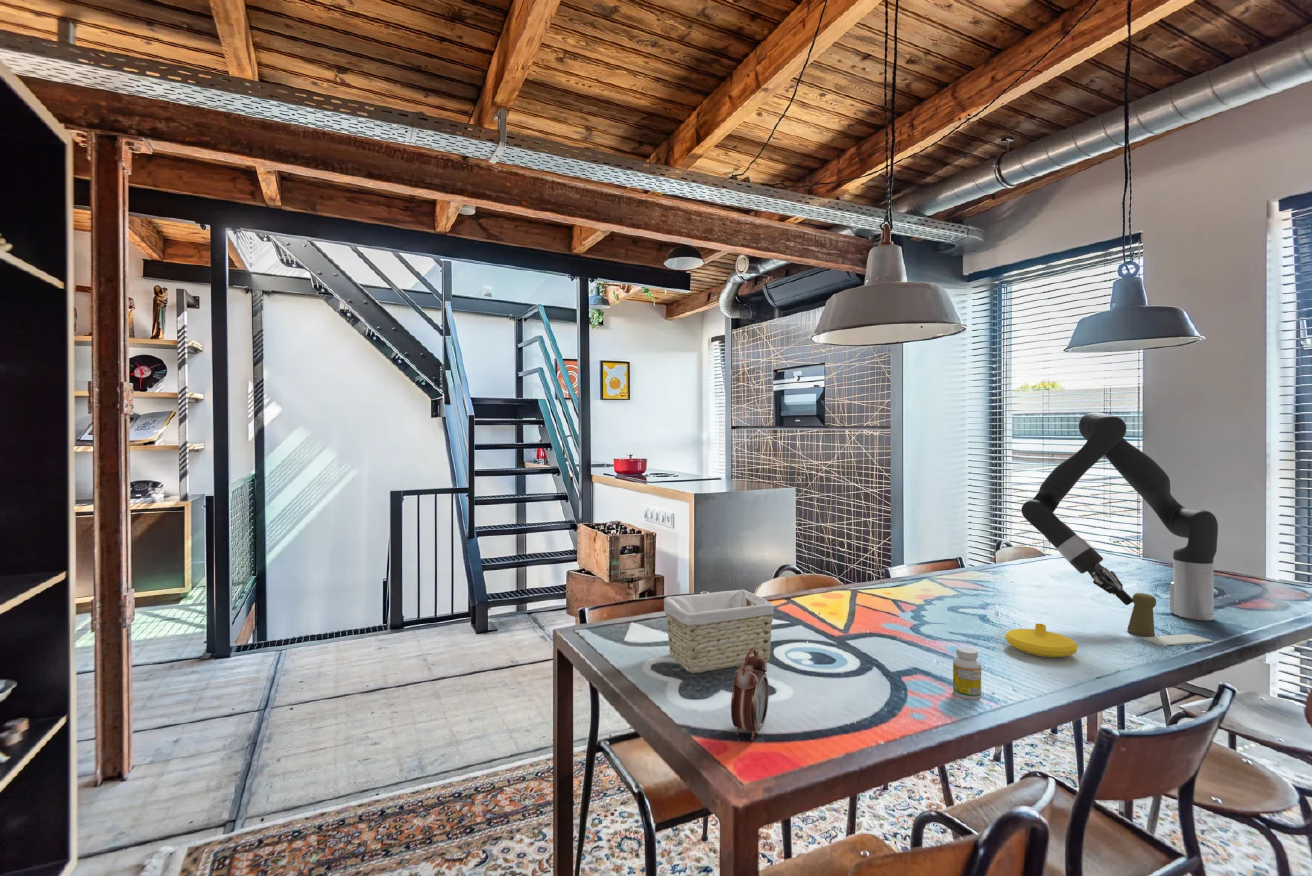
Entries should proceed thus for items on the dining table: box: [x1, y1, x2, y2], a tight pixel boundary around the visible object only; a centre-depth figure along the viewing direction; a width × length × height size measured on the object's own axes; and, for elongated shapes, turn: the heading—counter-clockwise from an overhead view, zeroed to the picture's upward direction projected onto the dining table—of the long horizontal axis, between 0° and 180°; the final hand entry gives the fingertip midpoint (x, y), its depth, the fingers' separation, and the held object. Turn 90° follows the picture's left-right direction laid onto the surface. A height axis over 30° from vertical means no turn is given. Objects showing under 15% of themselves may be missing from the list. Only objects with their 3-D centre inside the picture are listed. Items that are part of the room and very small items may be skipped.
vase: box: [1004, 623, 1079, 658], centre depth 152 cm, size 16×16×7 cm
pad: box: [1142, 633, 1213, 646], centre depth 160 cm, size 6×16×1 cm, turn 101°
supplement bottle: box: [952, 646, 982, 701], centre depth 126 cm, size 5×5×10 cm
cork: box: [1126, 592, 1157, 637], centre depth 166 cm, size 6×6×11 cm
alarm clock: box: [730, 649, 770, 742], centre depth 110 cm, size 11×5×15 cm, turn 155°
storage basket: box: [663, 589, 774, 674], centre depth 147 cm, size 24×16×15 cm
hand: (1130, 603), depth 168 cm, fingers closed
